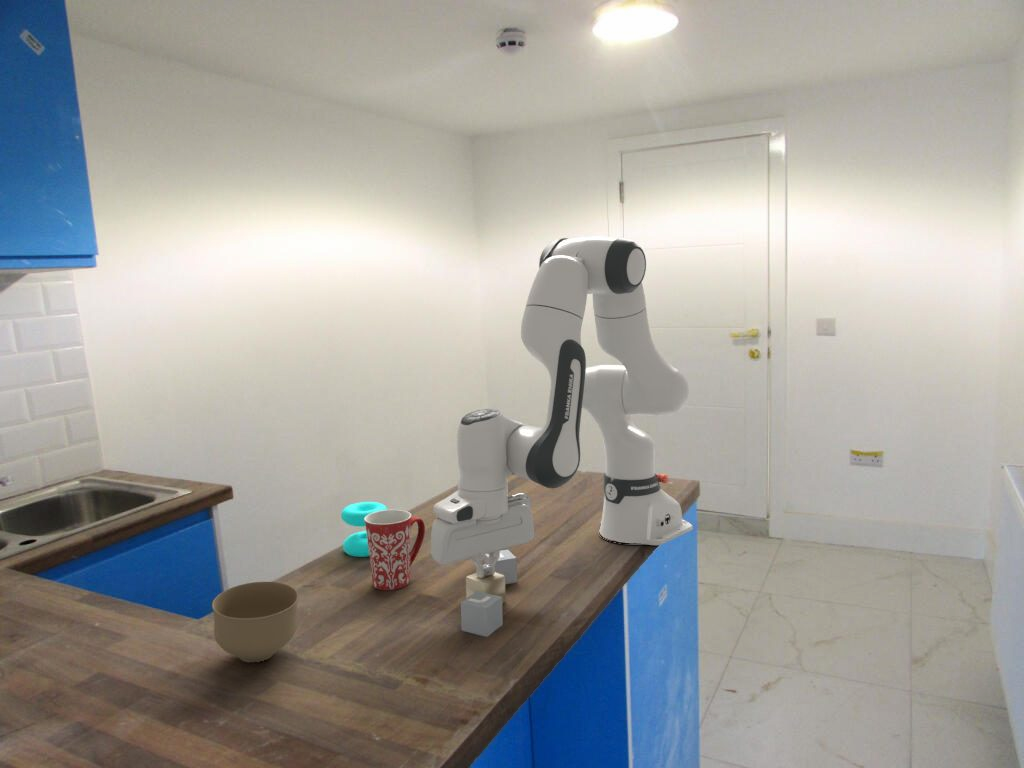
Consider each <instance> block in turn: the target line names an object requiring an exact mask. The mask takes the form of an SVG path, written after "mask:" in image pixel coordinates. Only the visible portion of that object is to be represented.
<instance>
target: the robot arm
mask: <svg viewBox="0 0 1024 768" xmlns="http://www.w3.org/2000/svg"><path fill="white" fill-rule="evenodd" d="M538 263H539V265H538V271H537V273H536V275H535V277H534V280H533V282H532V285H531V288H530V291H529V294H528V296H527V300H526V304H525V306H524V307H525V309H524V310H523V311H524V312H523V316H522V320H521V327H520V336H521V340H522V343H523V345H524V347H525V348H526V350H527V351H528V352H529V353H530V355H531V356H533V358H535V359H536V360H538V362H540V363H542V364H543V366H545V368H546V369H547V371H548V374H549V376H550V389H549V399H548V406H547V414H546V421H545V424H544V426H543V427H542V426H541V427H539V426H537V425H536V426H535V425H533V424H530V423H529V424H528V423H525V422H524V423H523V422H520V421H518V420H514V419H512V418H510V417H508V416H507V415H504V414H503V413H502V412H501V411H500V410H499V409H494V408H486V409H478V410H473V411H471V412H468V413H467V414H465V415H464V416H463V417H461V419H460V421H459V423H458V429H457V435H456V437H457V438H456V461H457V466H458V469H459V478H458V483H457V490H456V491H454V492H453V493H451V494H450V495H449V496H447V497H446V498H443V499H442V500H440V501H438V502H436V503H435V504H434V505H433V508H432V509H433V510H432V511H433V515H434V516H436V517H437V518H436V519H435V520H434V521H433V523H432V526H431V531H430V532H431V533H430V554H431V557H432V558H433V560H434V561H436V562H437V563H439V564H441V565H443V566H446V565H450V564H454V563H458V562H461V561H465V560H468V559H469V560H470V561H471V563H472V564H473V565H474V567H475V573H476V575H477V577H479V578H484V577H487V576H491V575H494V574H495V565H496V563H497V561H498V558H499V556H500V551H501V550H507V549H509V548H513V547H518V546H521V545H524V544H525V545H526V544H528V543H530V542H532V541H533V539H534V537H535V527H534V520H533V513H532V500H531V498H530V496H529V495H527V494H525V493H523V492H519V493H516V494H511V495H510V494H509V493H508V492H509V490H508V489H509V488H508V487H509V486H508V478H509V476H510V477H511V476H517V477H519V478H522V479H526V480H530V481H532V482H534V483H536V484H538V485H540V486H543V487H545V488H548V489H558V488H560V487H563V486H564V485H566V484H567V483H568V482H569V481H570V480H571V479H572V478H573V477H574V476H575V474H576V472H578V469H579V466H580V463H581V444H580V430H581V429H580V428H581V427H580V426H581V419H582V412H583V411H582V409H583V410H584V411H585V412H587V413H588V415H590V417H592V419H593V420H594V422H595V423H596V425H597V427H598V429H599V431H600V433H601V437H602V441H603V446H604V447H603V448H604V461H605V463H604V464H605V472H604V473H603V481H602V482H603V491H604V497H603V506H602V507H603V508H602V515H601V520H600V523H601V526H600V525H599V530H598V533H599V532H600V534H601V535H602V536H603V537H605V538H608V539H611V540H615V541H618V542H625V543H641V544H640V545H650V546H661V545H664V544H667V543H668V542H670V541H672V540H674V539H676V538H678V537H680V536H682V535H684V534H686V533H688V532H690V531H692V530H693V529H694V528H693V525H692V524H691V523H690V522H689V521H687V520H685V519H683V512H682V508H681V504H680V502H678V501H677V500H676V499H675V498H673V497H672V496H671V495H669V494H668V493H666V492H665V491H664V490H662V489H661V485H660V483H662V484H667V483H668V482H669V476H668V474H663V473H659V474H656V471H655V470H656V468H655V467H656V461H655V459H656V458H655V457H656V455H655V453H656V446H655V442H654V440H653V439H652V437H651V436H650V435H649V434H648V433H647V432H646V431H644V430H642V429H640V428H638V427H637V426H636V425H635V424H634V422H633V421H632V419H631V416H630V415H640V416H641V415H643V416H665V415H672V414H676V413H677V414H678V413H679V412H680V411H681V410H682V409H683V408H684V406H685V405H686V404H687V403H686V402H687V400H688V397H689V385H688V382H687V381H688V380H687V379H686V377H685V376H684V373H682V371H680V370H679V369H678V368H676V367H675V366H673V365H671V363H669V362H668V361H667V360H666V359H665V358H664V357H663V356H662V355H661V354H660V352H659V350H658V349H657V348H656V347H657V346H655V344H654V341H653V339H652V336H651V332H650V325H649V319H648V313H647V303H646V296H645V291H644V287H643V280H644V278H645V276H646V270H647V258H646V255H645V252H644V250H643V248H642V247H641V246H640V245H639V243H638V242H636V241H634V240H631V239H629V238H624V237H619V238H613V237H607V236H605V237H604V236H595V235H594V236H589V237H576V238H573V237H572V238H568V237H563V238H558V239H554V240H552V241H550V242H549V243H547V245H546V246H545V247H544V249H543V250H542V252H541V254H540V256H539V262H538ZM588 294H589V295H591V294H592V307H593V316H594V322H595V328H596V331H595V332H596V336H597V342H598V344H599V346H600V348H601V350H603V352H605V354H608V355H609V356H611V357H613V358H615V359H616V360H618V361H619V363H621V364H597V365H591V366H588V367H586V366H587V359H586V358H587V357H586V352H585V350H584V348H583V346H582V342H581V340H582V339H581V338H582V337H581V335H582V334H581V333H582V332H581V331H582V326H583V322H584V321H583V320H584V315H585V312H586V311H585V310H586V307H587V306H586V305H587V300H588V299H587V297H588ZM484 554H489V557H488V560H487V563H486V564H484V563H483V564H482V562H481V561H484Z"/></svg>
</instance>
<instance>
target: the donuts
mask: <svg viewBox="0 0 1024 768" xmlns="http://www.w3.org/2000/svg"><path fill="white" fill-rule="evenodd" d="M382 510H388V508H387V506H386V505H385V504H383V503H381V502H377V501H360V502H356V503H351V504H349V505H347V506H345V507H344V508H343V509H342V511H341V513H340V516H341V519H342V521H343V522H344V523H345V524H347V525H349V526H352V527H359V528H360V527H363V528H365V527H366V524H365V521H364V518H365V517H366V516H367V515H369V514H371V513H374V512H377V511H382ZM342 544H343V545H342V549H343V551H344V552H345V553H346V554H347V555H348V556H351V557H355V558H356V557H357V558H367V557H369V549H368V540H367V532H366V530H363V531H359V532H358V531H357V532H355V533H352V534H350V535H349V536H347V537H346V538H345V540H344V541H343V543H342Z"/></svg>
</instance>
